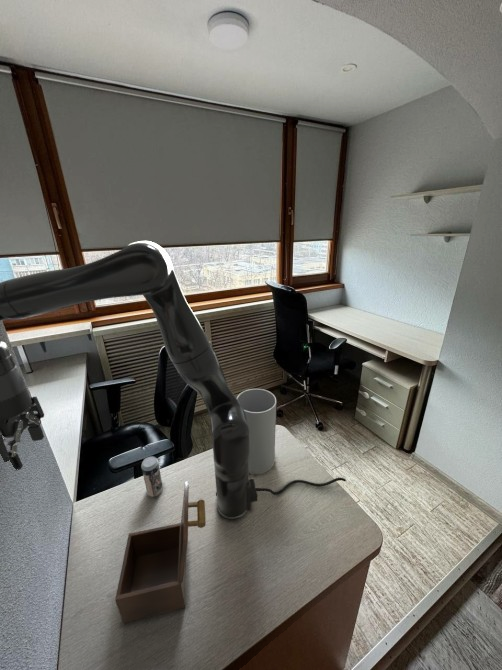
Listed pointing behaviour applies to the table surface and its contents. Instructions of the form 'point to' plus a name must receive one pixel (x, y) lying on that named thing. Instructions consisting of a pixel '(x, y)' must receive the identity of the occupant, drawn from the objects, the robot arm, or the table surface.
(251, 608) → the table surface
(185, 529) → the chest lid
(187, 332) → the robot arm
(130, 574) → the chest
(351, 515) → the table surface
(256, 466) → the cylinder vase
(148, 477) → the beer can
